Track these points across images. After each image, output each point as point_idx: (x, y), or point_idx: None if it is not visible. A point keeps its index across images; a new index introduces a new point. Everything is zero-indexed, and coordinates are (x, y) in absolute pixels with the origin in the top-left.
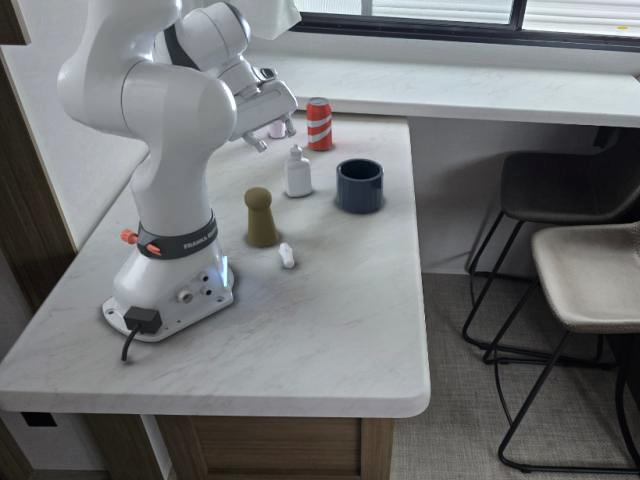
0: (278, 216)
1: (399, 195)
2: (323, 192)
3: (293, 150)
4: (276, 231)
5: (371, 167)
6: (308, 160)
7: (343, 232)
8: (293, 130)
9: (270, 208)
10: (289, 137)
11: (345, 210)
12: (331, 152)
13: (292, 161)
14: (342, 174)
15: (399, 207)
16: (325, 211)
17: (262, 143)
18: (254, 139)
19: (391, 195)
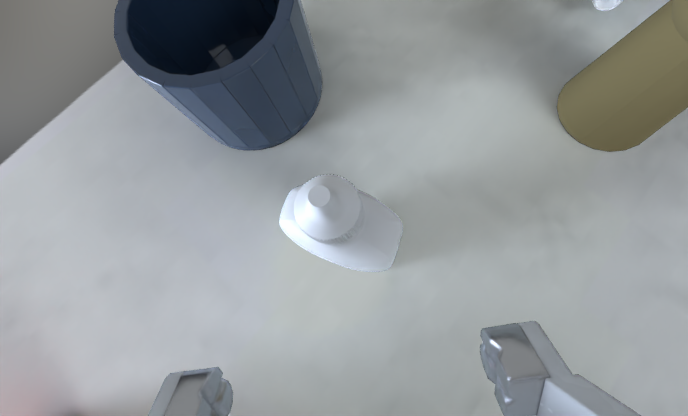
0: (496, 175)
1: None
2: None
3: (350, 200)
4: (584, 69)
5: (143, 37)
6: (285, 202)
7: (399, 8)
8: (178, 388)
9: (663, 6)
10: (231, 390)
11: (321, 76)
12: (70, 393)
13: (367, 216)
14: (278, 10)
15: None
16: (365, 109)
17: (523, 357)
18: (616, 409)
19: None
